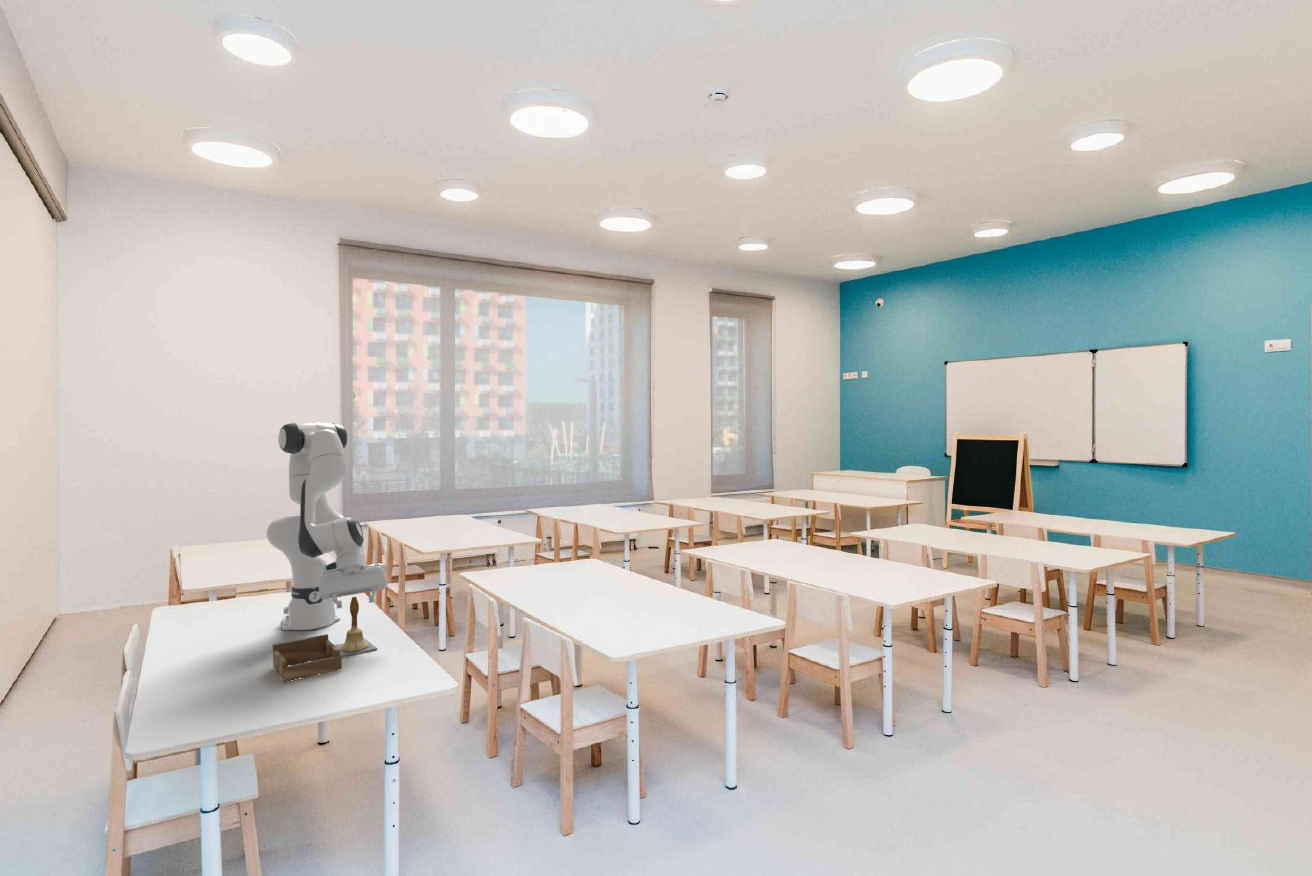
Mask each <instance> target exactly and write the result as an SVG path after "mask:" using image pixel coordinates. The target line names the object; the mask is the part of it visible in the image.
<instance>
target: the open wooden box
mask: <svg viewBox="0 0 1312 876" xmlns="http://www.w3.org/2000/svg"><path fill="white" fill-rule="evenodd" d="M335 645H336V644H334V643H333V642H331V640H329V634H328V633H327V634H321V635H315V636H311V637H306V638H299V639H296V640H294V639H293V640H290V641H289V640H288V641H285V642H279V643H273V644H272V668H274V669H275V670H276V671H275V670H274V669H273V670H274V671H275V673H276V672H277V673H278V674H279V675H278V674H277V673H276V674H277V675H278V676H280V677H281V678H282V679H283V681H284V682H286V683H288V682H287V681H290V682H292V681H291V680H295V679H299V678H304V679H308V678H311V677H310V676H313V677H315V676H314V675H317V676H319V675H318V674H322V675H327V674H329V672H331V673H334V672H333V671H335V672H338V671H337V670H340V669H342V658H341V656H340V650H339V649H338V648H337V647H336V646H335ZM308 661H311V662H308ZM305 662H306V663H305ZM300 663H301V664H300ZM296 664H297V665H296ZM288 665H292V666H288ZM340 671H341V670H340ZM280 677H279V678H280ZM307 677H308V678H307ZM281 678H280V679H281ZM282 679H281V680H282ZM299 680H300V679H299ZM283 681H282V682H283ZM295 681H296V680H295ZM284 682H283V683H284Z"/></svg>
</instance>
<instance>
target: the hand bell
mask: <svg viewBox="0 0 1312 876" xmlns="http://www.w3.org/2000/svg"><path fill="white" fill-rule="evenodd" d="M350 600H351V601H350V604H349V613H350V616H351V625H350V626H351V628H350V629H348V630H347V631H346V635H345V636H346V637H345V641H344V643H342V644H343V645H342V647H341V648H340V649H341V650H342V651H347V652H352V651H359V650H363V649H366V648H367V647H369V644H368V643H367V642H366V641H365V640H364V639H365V638H364V634H363V630H362V629H361V628H358V615H359V609H360V606H359V601H358V599H357V596H352V597H351V599H350Z"/></svg>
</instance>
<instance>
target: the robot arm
mask: <svg viewBox="0 0 1312 876" xmlns="http://www.w3.org/2000/svg"><path fill="white" fill-rule="evenodd" d="M278 444H279V448H280V449H281V451H282V452H284V453H287V454H290V456H289V462H288V485H289V498H290V500H291V501H292V502H293V503H295V504H297V505H300V509H299V510H300V512H299V515H293V516H285V517H280V518H275V519H274V520H272V521H271V522H270V523H269V524H268V527H267V530H266V537H267V539H268V540H267V541H268V542H269V544H270V545H271V546H272V547H274V548H276V549H278V550H279V551H280V552H281V553H283V555H285V557H286V558H287V560H288V562H289V564H290V569H291V575H292V586H291V591H290V594H291V595H290V596H291V599H290V601H289V603H288V605H287V606H285V607H283V615H285V616H282V618H281V619H282V620H281V630H282V631H291V630H293V631H309V630H315V629H320V628H321V629H322V628H325V627H328V626H330V625H333V624H334V623H335V622H338V621H340V620H341V616H339V615H336V609H343V604H342V600H338V598H341V597H347V596H348V597H349V596H353V595H358V594H366V593H370V592H371V595H368V603H369V604H372V603H375V597H376V595H377V591H383V590H384V591H385V590H386V588H387V587H388V578H387V575H386V574H387V567H386V565H384V564H381V563H376V564H369V565H367V564H366V557H365V555H364V553H363V552H364V541H365V540H364V531H363V529H362V526H361V525H362V524H360V522H359V521H358V520H356V519H354V518H352V517H349V516H348V517H346V516H344V515H343V514H341V513H339V512H338V511H337V510H335V509H334V508H333V507H332V506H331V504H330V502H329V501H328V498H327V496H326V495H327V494H326V493H328V492H329V491H331V490H333V489H334V488H336V487H338V485H340V484H341V483H342V482H343V481H344V480H345V478H346V476H347V473H348V464H347V463H348V461H347V456H346V453H345V450H344V449H345V448H346V446H347V444H348V433H347V429H346V428H345V426H344V425H342V424H338V423H335V422H332V423H327V422H303V423H302V422H301V423H296V422H291V423H286V424H283V426H282V427H281V428H280V429H279V433H278ZM332 552H334V554H335V556H336V559H335V561H333V562H331V563H328V564H327V561H326V560H325V559H324V558H323V557H321V556H323V555H325V554H328V553H332ZM335 605H336V609H335ZM287 614H288V615H287Z"/></svg>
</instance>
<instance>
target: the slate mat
mask: <svg viewBox="0 0 1312 876" xmlns="http://www.w3.org/2000/svg"><path fill="white" fill-rule="evenodd" d="M364 640H365V641H366V642H367V643H368V644H369V647H367V648H366V649H363V650H359V651H352V652H347V651H342V650H341V649H340V648H341V647H342V645H343V644H344V643H340V644H334V645H335V646H336V647H337V648H338V649H339V650H340V656H341V657H342V658H344V657H343V656H347V657H350V656H355V654H356V655H359V654H358V653H361V654H363V653H362V652H366V653H370V652H375V651H378V648H377V647H376V646H375V645H374V644H372V643H371V642H370V641H369V640H367V639H365V638H364Z"/></svg>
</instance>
